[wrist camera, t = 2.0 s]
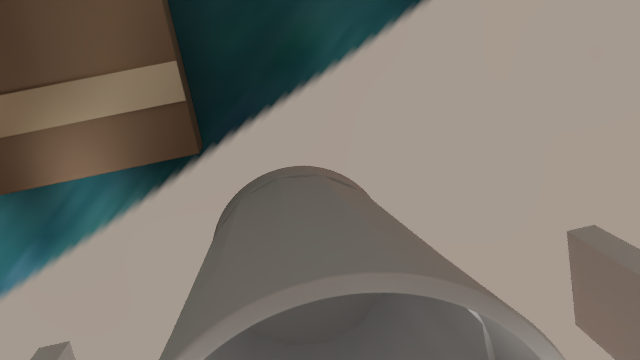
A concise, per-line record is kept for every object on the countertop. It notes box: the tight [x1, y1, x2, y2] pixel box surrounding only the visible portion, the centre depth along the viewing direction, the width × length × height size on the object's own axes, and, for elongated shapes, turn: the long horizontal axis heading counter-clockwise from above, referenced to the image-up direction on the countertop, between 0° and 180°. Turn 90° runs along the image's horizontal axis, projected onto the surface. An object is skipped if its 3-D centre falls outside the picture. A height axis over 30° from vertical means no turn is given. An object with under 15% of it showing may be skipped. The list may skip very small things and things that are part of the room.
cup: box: [159, 166, 565, 360], centre depth 15 cm, size 8×8×12 cm
